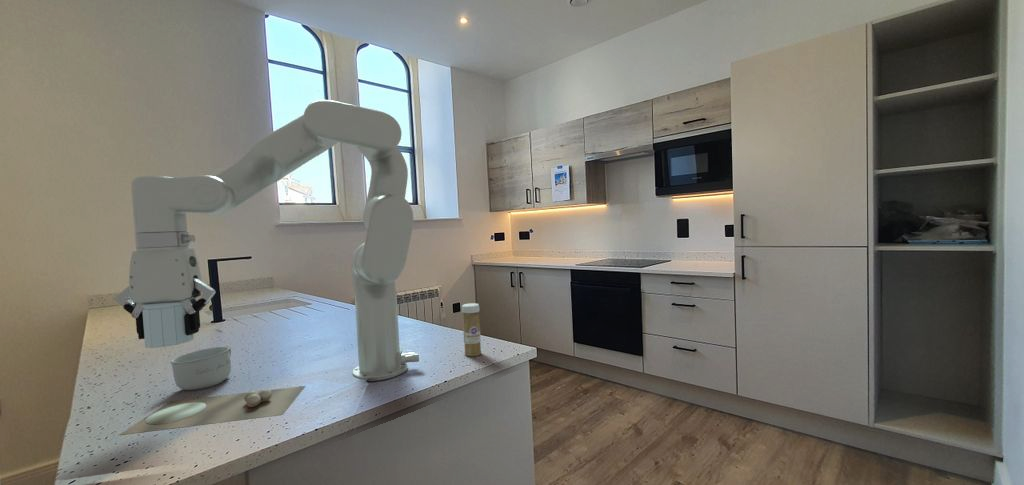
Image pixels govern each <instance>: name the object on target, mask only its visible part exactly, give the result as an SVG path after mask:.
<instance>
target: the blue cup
mask: <svg viewBox="0 0 1024 485" xmlns="http://www.w3.org/2000/svg"><path fill="white" fill-rule="evenodd" d="M142 312H143V325H144V347H145V348H148V349H156V348H167V347H172V346H178V345H182V344H186V343H188V342H191V341H193V340H194V339H195V338H194V336H195V335H194V334H192V335H186V334H185V320H184V316H185V315H186V314H187V311H186V309H185V308H184V307H183V305H182V302H180V301H178V302H165V303H150V304H142Z"/></svg>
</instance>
